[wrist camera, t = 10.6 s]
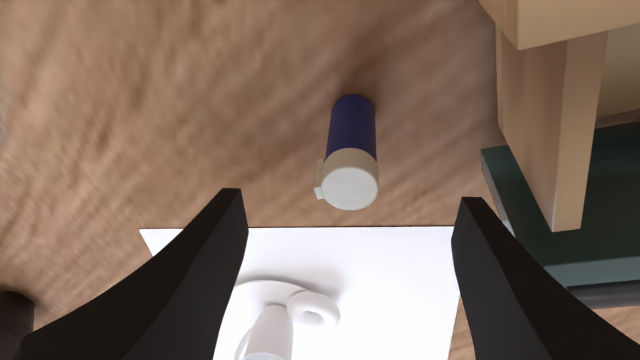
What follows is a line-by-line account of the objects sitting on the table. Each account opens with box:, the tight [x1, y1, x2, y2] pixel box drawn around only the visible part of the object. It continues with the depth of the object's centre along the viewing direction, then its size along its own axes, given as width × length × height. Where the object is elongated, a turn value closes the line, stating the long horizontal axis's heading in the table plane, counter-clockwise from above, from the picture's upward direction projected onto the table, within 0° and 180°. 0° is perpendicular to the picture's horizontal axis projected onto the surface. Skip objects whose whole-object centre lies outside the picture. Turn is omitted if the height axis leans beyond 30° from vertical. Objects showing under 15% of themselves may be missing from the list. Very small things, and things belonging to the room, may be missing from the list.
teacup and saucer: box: [223, 279, 342, 360], centre depth 27 cm, size 9×8×4 cm
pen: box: [313, 95, 379, 210], centre depth 16 cm, size 2×2×6 cm
